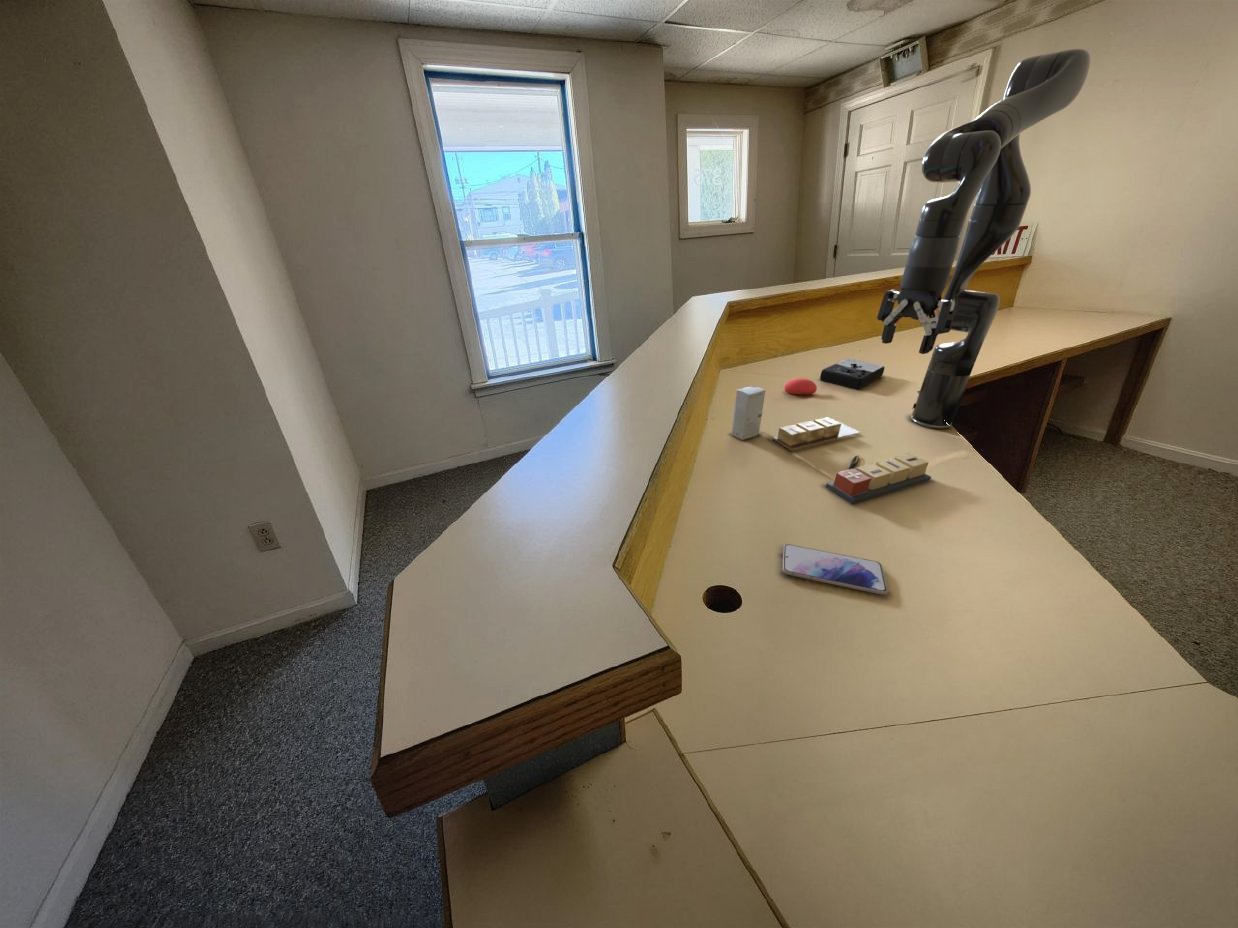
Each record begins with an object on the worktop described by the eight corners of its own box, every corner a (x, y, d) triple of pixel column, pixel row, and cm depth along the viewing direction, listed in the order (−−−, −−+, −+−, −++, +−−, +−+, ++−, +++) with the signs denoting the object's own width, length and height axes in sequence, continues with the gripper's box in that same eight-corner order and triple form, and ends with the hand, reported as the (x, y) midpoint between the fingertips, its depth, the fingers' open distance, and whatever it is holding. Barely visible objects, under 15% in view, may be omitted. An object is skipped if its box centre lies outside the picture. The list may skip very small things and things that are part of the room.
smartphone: (888, 593, 67) (782, 570, 71) (886, 597, 68) (781, 575, 72) (881, 561, 73) (784, 542, 77) (879, 565, 73) (783, 546, 78)
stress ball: (809, 403, 138) (821, 385, 136) (783, 389, 139) (794, 371, 137) (807, 403, 142) (818, 385, 141) (781, 389, 144) (792, 371, 142)
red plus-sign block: (849, 480, 94) (853, 467, 93) (867, 491, 91) (871, 478, 89) (833, 485, 93) (836, 472, 91) (850, 496, 89) (854, 482, 88)
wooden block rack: (900, 465, 102) (906, 449, 100) (929, 480, 96) (936, 464, 94) (825, 487, 94) (829, 470, 92) (852, 504, 89) (857, 486, 87)
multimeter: (818, 380, 152) (821, 365, 149) (844, 368, 163) (847, 354, 160) (858, 390, 143) (862, 375, 141) (882, 376, 154) (886, 362, 152)
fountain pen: (846, 486, 94) (848, 480, 93) (840, 485, 95) (842, 479, 94) (859, 458, 104) (861, 453, 103) (854, 457, 105) (855, 451, 104)
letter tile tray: (838, 425, 121) (841, 411, 119) (859, 435, 115) (863, 421, 113) (771, 440, 113) (774, 425, 111) (790, 452, 108) (794, 436, 106)
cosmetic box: (743, 440, 113) (749, 395, 107) (730, 434, 117) (735, 389, 111) (760, 434, 116) (767, 389, 110) (746, 428, 120) (753, 384, 114)
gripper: (981, 265, 81) (950, 354, 89) (909, 257, 92) (887, 337, 100) (952, 268, 78) (923, 360, 87) (882, 260, 90) (862, 342, 98)
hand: (904, 347), depth 94 cm, fingers open, 8 cm apart
